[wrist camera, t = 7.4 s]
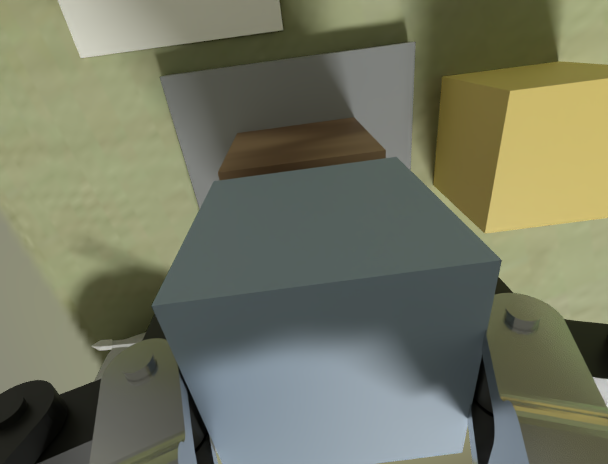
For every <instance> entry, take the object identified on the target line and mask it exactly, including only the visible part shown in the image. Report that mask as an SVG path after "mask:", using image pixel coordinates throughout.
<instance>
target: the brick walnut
mask: <svg viewBox="0 0 608 464" xmlns="http://www.w3.org/2000/svg"><path fill="white" fill-rule="evenodd" d="M383 158H386V150H385V149H384V148H383V147H382V146H381V145H380V144H379V142H378V141H377V140H376V139H375V138H374V137H373V136H372V135H371V134H370V133H369V132H368V131H367V130H366V129H365V128H364V127H363V126H362V125H361V124H360V123H359V122H358V121H357V120H356V119H355V118H354V117H352V118H345V119H338V120H330V121H323V122H315V123H308V124H301V125H293V126H286V127H279V128H271V129H264V130H256V131H249V132H242V133H237V135H236V137H235V139H234V141H233V143H232V145H231V147H230V149H229V151H228V153H227V155H226V157H225V159H224V161H223V163H222V165H221V167H220V169H219V171H218V176H219V180H227V179H234V178H242V177H249V176H256V175H264V174H271V173H279V172H286V171H294V170H301V169H309V168H316V167H324V166H331V165H339V164H346V163H354V162H361V161H368V160H376V159H383Z"/></svg>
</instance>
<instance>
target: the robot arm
mask: <svg viewBox="0 0 608 464" xmlns="http://www.w3.org/2000/svg"><path fill="white" fill-rule="evenodd" d="M481 350H482V358H481V363H480V368H479V373H478V378H477V382H476V387H475V392H474V397H473V402H472V404H470V408H469V412H468V417H467V420H468V429H469V437H470V445H471V453H472V461H473V464H608V324H601V323H592V322H582V321H573V320H566V319H563V317H562V316H561V315H560V314H559V312H557V311H556V310H555V309H554V308H553V307H551V306H550V305H548V304H547V303H545V302H543V301H541V300H538V299H536V298H534V297H530V296H527V295H523V294H517V293H513V292H512V291H511V290H510V289H509V288H508V287H507V286H506V285H505V283H504V282H503V281H502V280H501V279H500V278H499V277H498V280H497V285H496V290H495V295H494V300H493V305H492V309H491V314H490V319H489V324H488V329H487V330H485V334H484V339H483V344H482V349H481ZM0 464H218V462H217V457H216V451H215V446H214V444H213V442H212V439H211V437H210V435H209V433H208V431H207V428H206V426H205V424H204V422H203V419H202V417H201V415H200V413H199V411H198V408H197V406H196V404H195V402H194V399H193V397H192V395H191V393H190V391H189V388H188V386H187V384H186V382H185V379H184V377H183V375H182V373H181V371H180V368H179V366H178V364H177V362H176V360H175V357H174V355H173V353H172V351H171V348H170V346H169V344H168V342H167V340H166V337H165V335H164V333H163V331H162V328H161V326H160V324H159V322H158V320H157V317H156V315H155V314H154V316H153V318H152V321H151V323H150V325H149V327H148V329H147V331H146V333H145V336H144V338H143V340H142V341H140V342H138V343H135V344H133V345H131V346H130V347H128V348H126V349H125V350H123V351H122V352H121V353H119V354H118V355H117V356H116V357H115V358H114V359H113V360H112V361H111V362H110V363H109V364H108V366H107V367H106V369H105V370H104V373H103V375H102V378H101V379H99V380H97V381H94V382H91V383H89V384H86V385H84V386H81V387H78V388H76V389H73V390H71V391H68V392H65V393H63V394H60V395H59V394H58V393H57V391H56V390H55V388H54V387H53V386H52V385H51V384H50V383H48V382H47V381H42V380H35V381H30V382H26V383H22V384H20V385H17V386H15V387H13V388H10V389H8V390H7V391H5V392H3V393H2V394H0Z"/></svg>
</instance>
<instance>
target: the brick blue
mask: <svg viewBox="0 0 608 464" xmlns="http://www.w3.org/2000/svg"><path fill="white" fill-rule="evenodd" d="M501 261H502V260H501V259H500V258H499V257H498V256H497V255H496V254H495V253H494V252H493V251H492V250H491V249H490V248H489V247H488V246H487V245H486V244H485V243H484V242H483V241H482V240H481V239H480V238H479V237H478V236H477V235H476V234H475V233H474V232H472V231H471V230H470V229H469V228H468V227H467V226H466V225H465V224H464V223H463V222H462V221H461V220H460V219H459V218H458V217H457V216H456V215H455V214H454V213H453V212H452V211H451V210H450V209H449V208H448V207H447V206H446V205H445V204H444V203H443V202H442V201H441V200H440V199H439V198H438V197H437V196H436V195H435V194H434V193H433V192H432V191H431V190H430V189H429V188H428V187H427V186H426V185H425V184H424V183H423V182H422V181H421V180H420V179H419V178H418V177H417V176H416V175H415V174H414V173H412V172H411V171H410V170H409V169H408V168H407V167H406V166H405V165H404V164H403V163H402V162H401V161H400V160H399V159H398V158H397V157H391V158H383V159H376V160H368V161H361V162H354V163H346V164H339V165H331V166H324V167H316V168H309V169H301V170H294V171H286V172H279V173H271V174H264V175H256V176H249V177H242V178H234V179H227V180H219V181H214V182H213V184H212V186H211V188H210V190H209V192H208V194H207V196H206V198H205V200H204V202H203V204H202V206H201V208H200V210H199V212H198V214H197V216H196V218H195V220H194V222H193V224H192V226H191V228H190V230H189V232H188V234H187V236H186V238H185V240H184V242H183V244H182V246H181V248H180V250H179V252H178V254H177V256H176V258H175V260H174V262H173V264H172V266H171V268H170V270H169V272H168V274H167V276H166V278H165V280H164V282H163V284H162V286H161V288H160V290H159V292H158V294H157V296H156V298H155V300H154V302H153V304H152V308H153V311H154V313H155V315H156V317H157V320H158V322H159V324H160V326H161V328H162V331H163V333H164V335H165V337H166V340H167V342H168V344H169V346H170V348H171V351H172V353H173V355H174V357H175V360H176V362H177V364H178V366H179V368H180V371H181V373H182V375H183V377H184V379H185V382H186V384H187V386H188V388H189V391H190V393H191V395H192V397H193V399H194V402H195V404H196V406H197V408H198V411H199V413H200V415H201V417H202V419H203V422H204V424H205V426H206V428H207V431H208V433H209V435H210V437H211V439H212V442H213V444H214V446H215V448H216V451H217V453H218V455H219V457H220V459H221V462H222V464H376V463H383V462H392V461H400V460H408V459H415V458H423V457H431V456H439V455H446V454H455V453H462V451H463V446H464V441H465V436H466V431H467V426H468V420H467V417H468V412H469V408H470V404H472V402H473V397H474V392H475V387H476V382H477V378H478V373H479V368H480V363H481V358H482V350H481V349H482V344H483V339H484V334H485V330H487V329H488V324H489V319H490V314H491V309H492V305H493V300H494V295H495V290H496V285H497V280H498V275H499V270H500V266H501Z"/></svg>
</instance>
